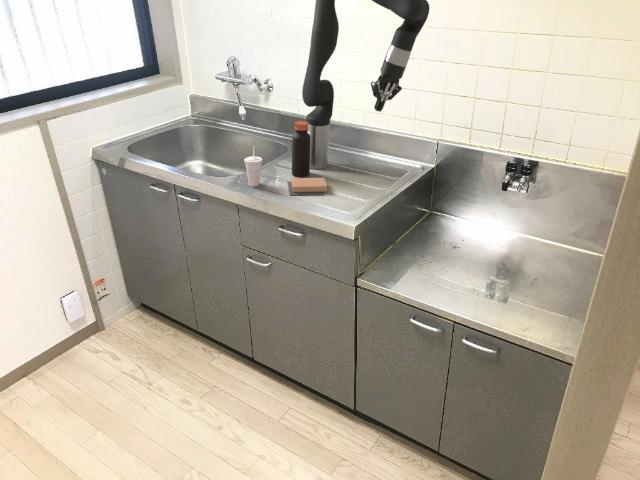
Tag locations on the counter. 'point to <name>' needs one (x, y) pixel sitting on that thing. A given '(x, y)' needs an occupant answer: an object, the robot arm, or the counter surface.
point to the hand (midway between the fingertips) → (377, 110)
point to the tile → (308, 185)
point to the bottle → (301, 150)
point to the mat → (302, 192)
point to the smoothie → (253, 169)
